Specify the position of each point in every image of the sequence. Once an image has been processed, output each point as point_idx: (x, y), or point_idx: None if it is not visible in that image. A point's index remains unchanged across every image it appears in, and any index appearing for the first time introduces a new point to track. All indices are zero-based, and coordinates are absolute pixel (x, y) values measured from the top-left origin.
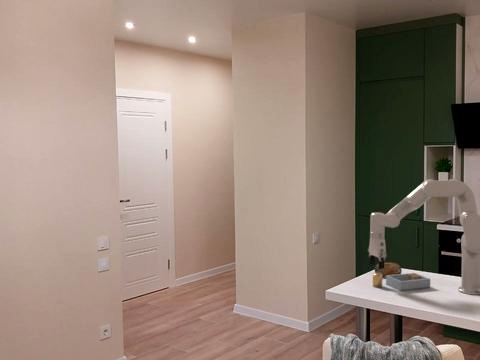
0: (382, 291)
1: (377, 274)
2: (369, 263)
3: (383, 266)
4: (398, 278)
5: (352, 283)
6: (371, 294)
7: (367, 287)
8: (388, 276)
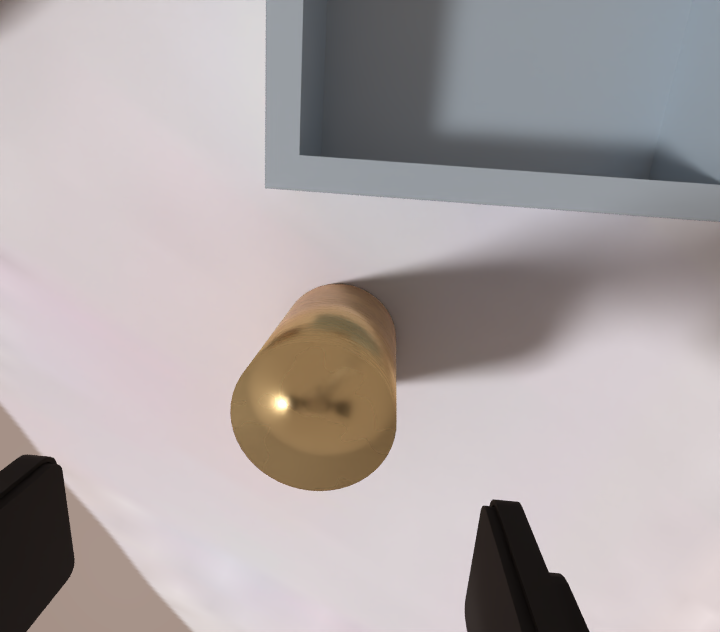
0: (538, 411)
1: (351, 447)
2: (50, 594)
3: (563, 587)
4: None
5: (140, 500)
6: (567, 561)
7: None
8: (339, 190)
